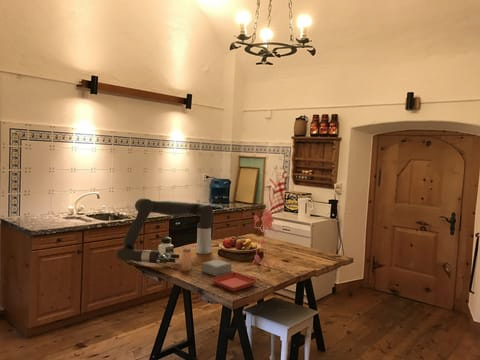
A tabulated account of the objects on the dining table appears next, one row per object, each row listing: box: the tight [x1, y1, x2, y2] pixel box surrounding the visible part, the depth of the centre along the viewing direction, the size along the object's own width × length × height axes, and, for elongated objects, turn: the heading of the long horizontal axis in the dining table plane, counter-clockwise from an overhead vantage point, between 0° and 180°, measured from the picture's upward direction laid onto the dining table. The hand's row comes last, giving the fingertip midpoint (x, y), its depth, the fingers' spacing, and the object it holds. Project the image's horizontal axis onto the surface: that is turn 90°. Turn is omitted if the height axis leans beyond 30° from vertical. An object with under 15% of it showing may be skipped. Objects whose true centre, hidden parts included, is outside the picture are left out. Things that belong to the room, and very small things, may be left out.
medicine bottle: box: [157, 236, 175, 256], centre depth 262 cm, size 7×7×12 cm
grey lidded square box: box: [201, 258, 232, 277], centre depth 234 cm, size 12×12×5 cm
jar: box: [181, 247, 192, 272], centre depth 236 cm, size 5×5×12 cm
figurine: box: [252, 208, 278, 269], centre depth 249 cm, size 15×26×35 cm, turn 28°
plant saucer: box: [210, 271, 258, 292], centre depth 214 cm, size 18×18×3 cm
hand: (177, 258), depth 237 cm, fingers open, 8 cm apart
